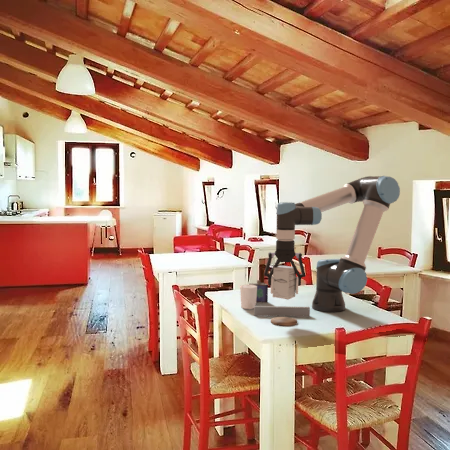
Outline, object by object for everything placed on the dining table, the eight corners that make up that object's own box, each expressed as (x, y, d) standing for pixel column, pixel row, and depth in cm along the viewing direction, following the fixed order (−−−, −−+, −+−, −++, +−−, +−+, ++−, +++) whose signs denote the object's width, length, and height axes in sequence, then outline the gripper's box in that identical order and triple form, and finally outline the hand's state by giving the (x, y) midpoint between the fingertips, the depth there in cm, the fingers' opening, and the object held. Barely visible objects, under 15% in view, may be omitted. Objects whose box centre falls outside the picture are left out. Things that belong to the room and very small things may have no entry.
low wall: (309, 315, 218) (309, 306, 218) (309, 316, 217) (309, 307, 217) (254, 314, 219) (254, 306, 219) (254, 315, 218) (254, 306, 217)
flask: (248, 302, 243) (248, 280, 242) (249, 300, 246) (249, 279, 245) (267, 303, 241) (267, 281, 240) (268, 301, 244) (268, 280, 243)
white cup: (255, 309, 228) (255, 288, 227) (238, 309, 229) (238, 287, 229) (258, 305, 236) (258, 285, 235) (241, 304, 237) (241, 284, 236)
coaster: (299, 320, 211) (299, 318, 211) (293, 327, 201) (293, 325, 201) (274, 317, 215) (274, 315, 215) (267, 324, 205) (267, 322, 205)
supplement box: (272, 297, 206) (272, 267, 205) (280, 294, 212) (280, 264, 211) (288, 299, 202) (288, 269, 201) (296, 296, 208) (296, 266, 207)
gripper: (311, 239, 208) (309, 291, 210) (257, 238, 209) (257, 290, 211) (313, 241, 201) (312, 295, 203) (258, 240, 202) (257, 294, 203)
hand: (284, 293), depth 207 cm, fingers closed on supplement box, 10 cm apart
